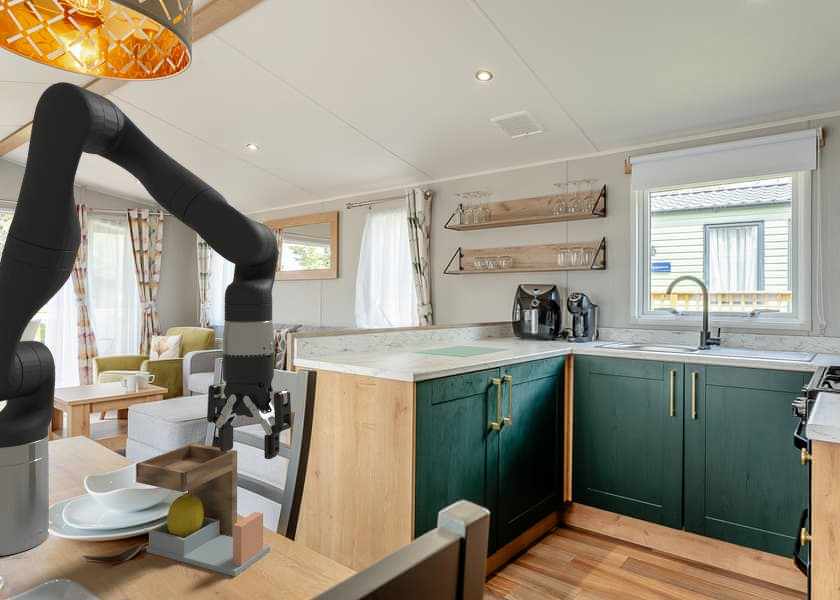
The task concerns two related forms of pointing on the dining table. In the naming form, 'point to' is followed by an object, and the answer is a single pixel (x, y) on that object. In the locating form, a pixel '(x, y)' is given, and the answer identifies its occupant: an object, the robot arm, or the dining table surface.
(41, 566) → the dining table surface
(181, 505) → the lemon
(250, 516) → the grey tray holder base
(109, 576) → the dining table surface
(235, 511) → the shelf
